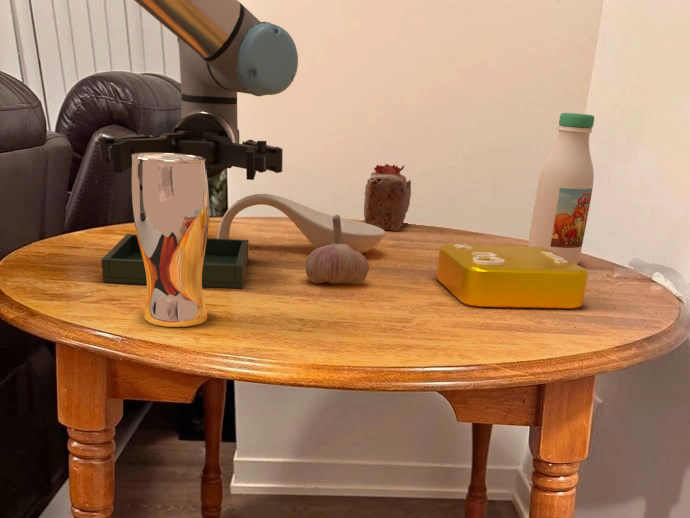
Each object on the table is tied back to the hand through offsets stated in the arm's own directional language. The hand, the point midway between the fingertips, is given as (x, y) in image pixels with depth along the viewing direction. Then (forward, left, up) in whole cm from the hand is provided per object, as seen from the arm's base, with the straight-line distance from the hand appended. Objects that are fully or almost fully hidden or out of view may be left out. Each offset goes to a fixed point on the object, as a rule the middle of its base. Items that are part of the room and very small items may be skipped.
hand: (183, 162), depth 80 cm
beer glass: (0, -11, -14) cm, 17 cm away
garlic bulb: (+17, +7, -14) cm, 23 cm away
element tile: (+38, +6, -14) cm, 41 cm away
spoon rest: (+13, +26, -14) cm, 32 cm away
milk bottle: (+50, +26, -14) cm, 58 cm away
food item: (+28, +52, -14) cm, 61 cm away
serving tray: (-2, +10, -13) cm, 17 cm away
